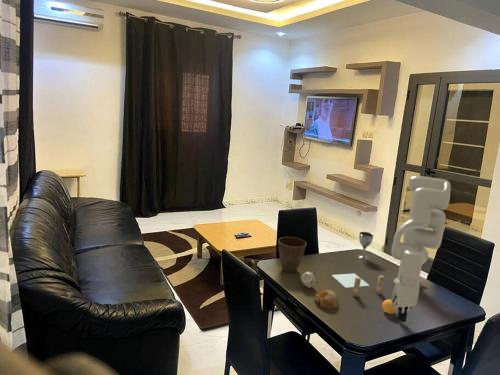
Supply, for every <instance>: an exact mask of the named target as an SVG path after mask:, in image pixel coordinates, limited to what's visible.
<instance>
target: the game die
mask: <svg viewBox="0 0 500 375" xmlns="http://www.w3.org/2000/svg"><path fill="white" fill-rule="evenodd" d="M315 275H316V273H313V272H310V271H308V269H306V270H305V272H304V273H302V275H298V278H300V282H301V286H302V287H303V286H304V287H306V288H307V289H308V290H311V288H312V287H314V286H315V284H319V282H317V279H316V276H315Z"/></svg>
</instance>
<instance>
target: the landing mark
mask: <svg viewBox="0 0 500 375" xmlns="http://www.w3.org/2000/svg"><path fill="white" fill-rule="evenodd" d="M331 276H332V277H333V278H334V279H335V280H336V281H337V282H338V283H340V285H341V286H342V287H344V288H345V289H349V288H354V282H355V277H359V278H361V277H360V276H359V275H357V274H356V273H343V274H342V273H339V274H331ZM363 287H370V284H369V283H368V282H366V281H365V280H363V279H362V278H361V281H360V288H363Z"/></svg>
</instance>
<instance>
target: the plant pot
mask: <svg viewBox="0 0 500 375" xmlns="http://www.w3.org/2000/svg"><path fill="white" fill-rule="evenodd" d="M306 247H307V242H306V241H305V240H303V239H301V238H298V237H293V236H284V237H283V236H282V237H280V238H279V239H278V254H279V255H278V256H279V260H280V265H281V269H282V271H284V272H286V273H295V272H296V271H297V270H298V268H299V266H300V264H301V262H302V260H303V257H304V254H305V251H306Z"/></svg>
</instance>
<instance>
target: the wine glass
mask: <svg viewBox="0 0 500 375" xmlns="http://www.w3.org/2000/svg"><path fill="white" fill-rule="evenodd" d="M358 235H359V236H358V238H359V239H358V240H359V243H360V245H361V246H362V248H363V249H362V254H358V255H356V257H357V259H360V260H363V261H364V260H365V261H366V260H367V261H368V260H369V259H370V257H369V256H368V255H365V252H366V249H367V248H368V247H369V246H370V245H372V243H373V240H374V234H373V233H371V232H367V231H360V232H359V234H358Z"/></svg>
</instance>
